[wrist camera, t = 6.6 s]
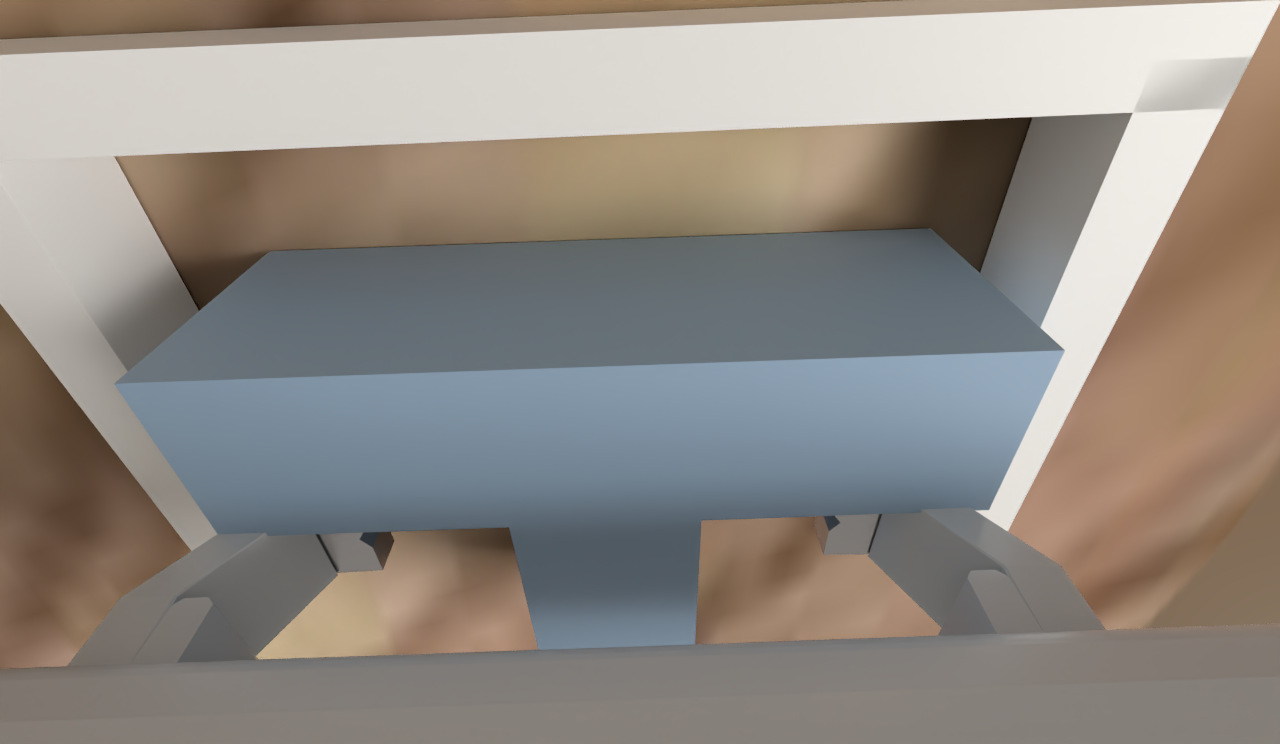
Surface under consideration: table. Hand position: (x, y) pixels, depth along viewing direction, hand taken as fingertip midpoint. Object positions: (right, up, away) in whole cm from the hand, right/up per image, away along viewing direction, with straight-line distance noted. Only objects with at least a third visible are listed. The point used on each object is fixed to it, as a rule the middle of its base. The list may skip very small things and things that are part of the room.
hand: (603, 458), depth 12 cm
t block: (0, 0, +2) cm, 2 cm away
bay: (0, +2, +1) cm, 2 cm away
